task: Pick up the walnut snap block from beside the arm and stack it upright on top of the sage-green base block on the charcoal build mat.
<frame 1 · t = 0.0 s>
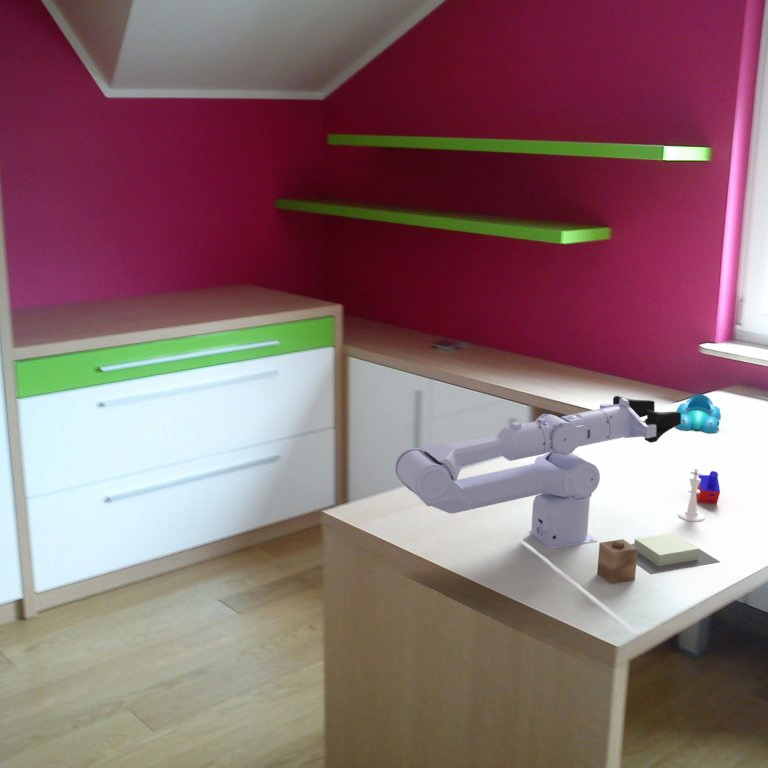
hand: (666, 412, 177), 22 cm above the table, tool horizontal, fingers open, 7 cm apart
base block: (665, 554, 169), resting on build mat
chess piece: (691, 520, 186), on the table
toy building block: (706, 501, 195), on the table
build mat: (665, 557, 169), on the table
walnut snap block: (615, 579, 160), on the table
toy car: (697, 423, 247), on the table
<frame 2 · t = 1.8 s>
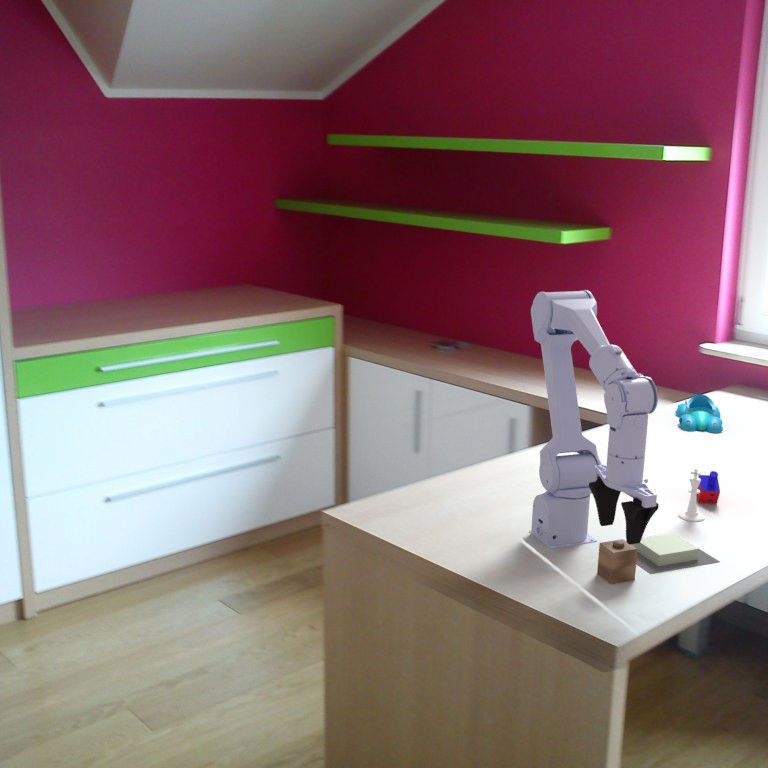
hand: (619, 533, 158), 8 cm above the table, tool pointing down, fingers open, 7 cm apart
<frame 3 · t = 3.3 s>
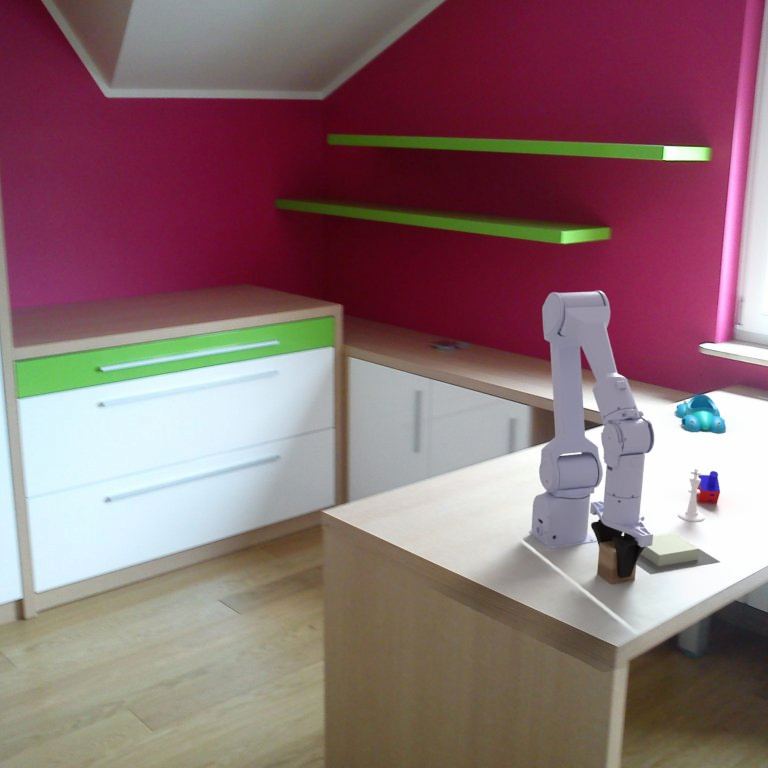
hand: (616, 570, 160), 2 cm above the table, tool pointing down, fingers closed on walnut snap block, 4 cm apart
walnut snap block: (615, 579, 160), on the table, touching gripper
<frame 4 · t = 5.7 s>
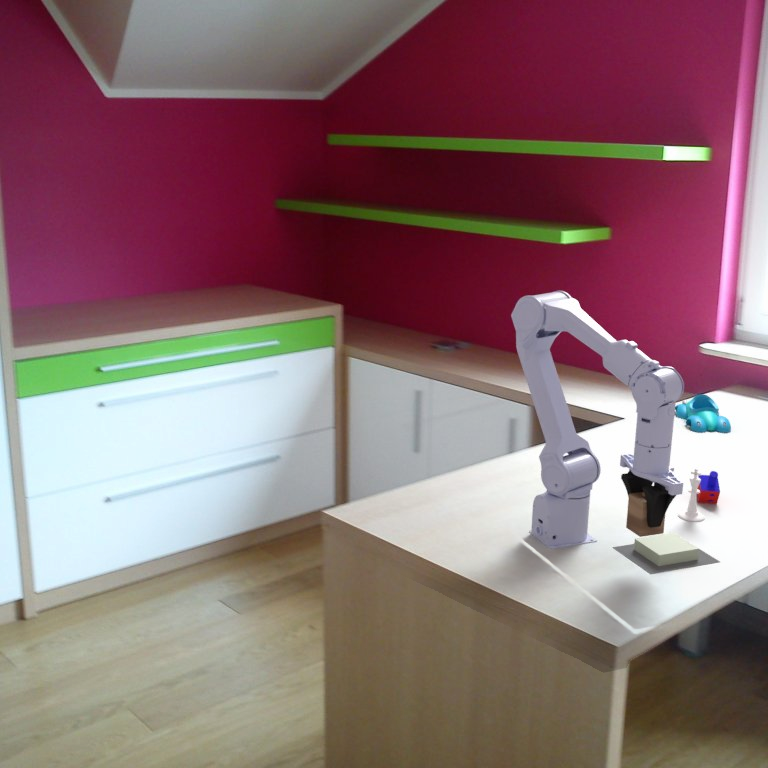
hand: (646, 521, 163), 8 cm above the table, tool pointing down, fingers closed on walnut snap block, 4 cm apart
walnut snap block: (644, 530, 163), point 7 cm above the table, touching gripper
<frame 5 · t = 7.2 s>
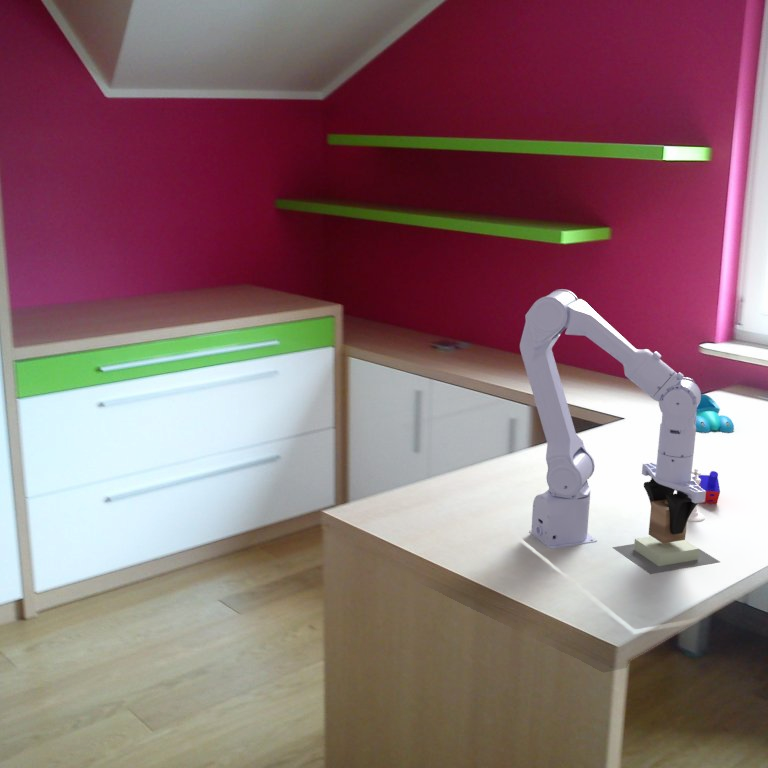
hand: (668, 527, 168), 5 cm above the table, tool pointing down, fingers closed on walnut snap block, 4 cm apart
walnut snap block: (666, 537, 168), point 4 cm above the table, touching gripper
when the fingers open (5 cm above the table, at t = 8.2 s): walnut snap block drops 1 cm, resting on base block.
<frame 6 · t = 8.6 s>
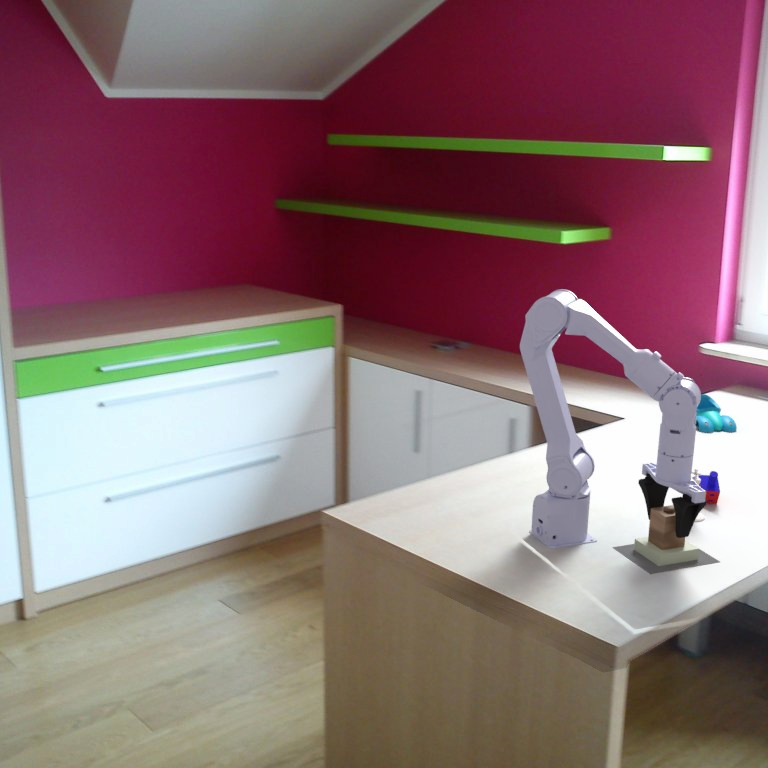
hand: (668, 527, 168), 5 cm above the table, tool pointing down, fingers open, 7 cm apart
walnut snap block: (666, 543, 168), point 2 cm above the table, touching base block
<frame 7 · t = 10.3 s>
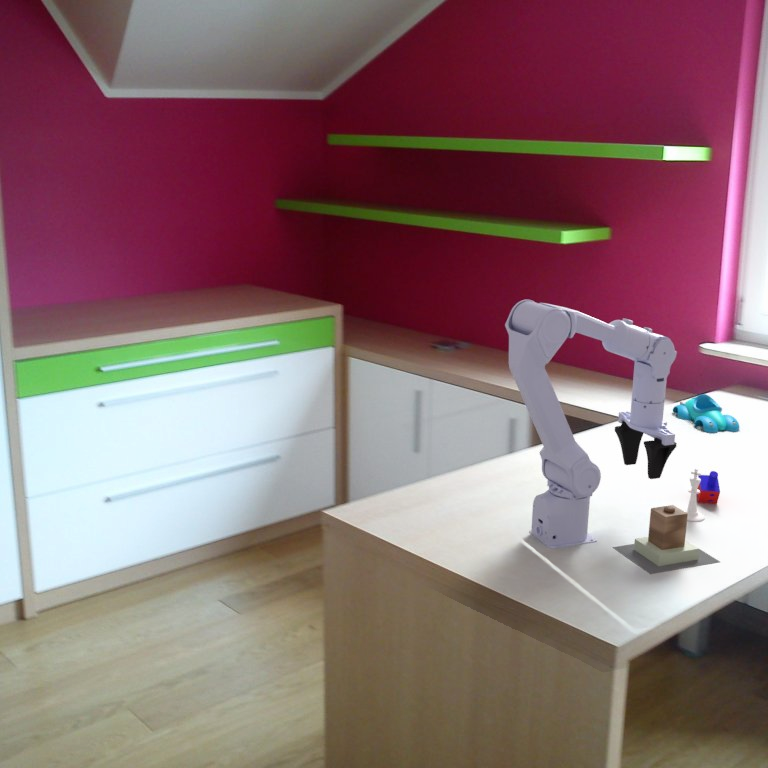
hand: (641, 470, 180), 10 cm above the table, tool pointing down, fingers open, 7 cm apart
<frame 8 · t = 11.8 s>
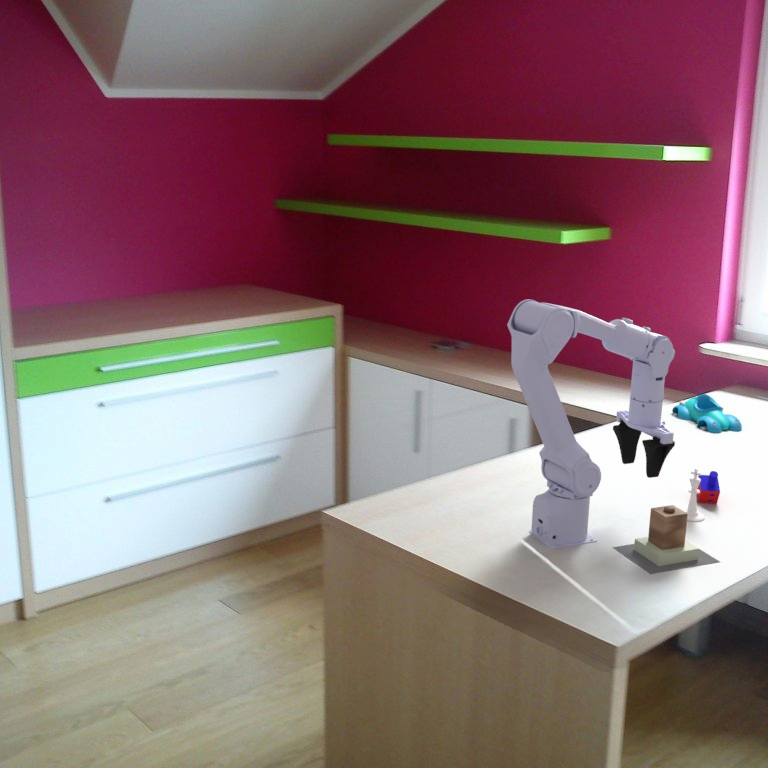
hand: (640, 469, 181), 10 cm above the table, tool pointing down, fingers open, 7 cm apart
at the end: walnut snap block 0.1 cm off-centre on the base block, point 2.0 cm above the base block's base; walnut snap block tilted 0°; the gripper is holding nothing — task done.
